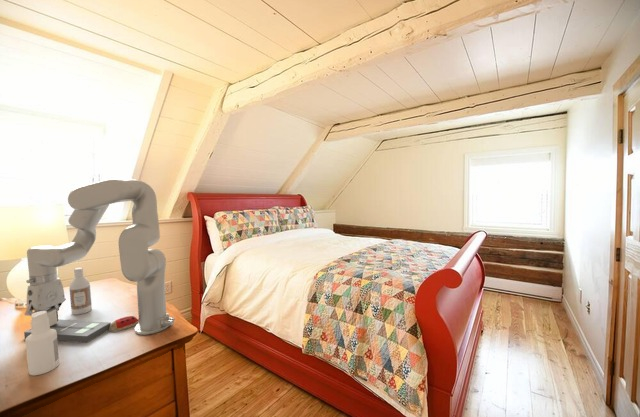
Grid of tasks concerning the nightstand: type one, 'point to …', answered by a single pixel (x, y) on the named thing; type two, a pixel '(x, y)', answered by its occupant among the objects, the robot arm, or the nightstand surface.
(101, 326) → the mixing desk
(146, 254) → the robot arm
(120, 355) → the nightstand surface
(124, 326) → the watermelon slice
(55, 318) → the fader knob
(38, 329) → the white bottle
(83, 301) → the bath foam
